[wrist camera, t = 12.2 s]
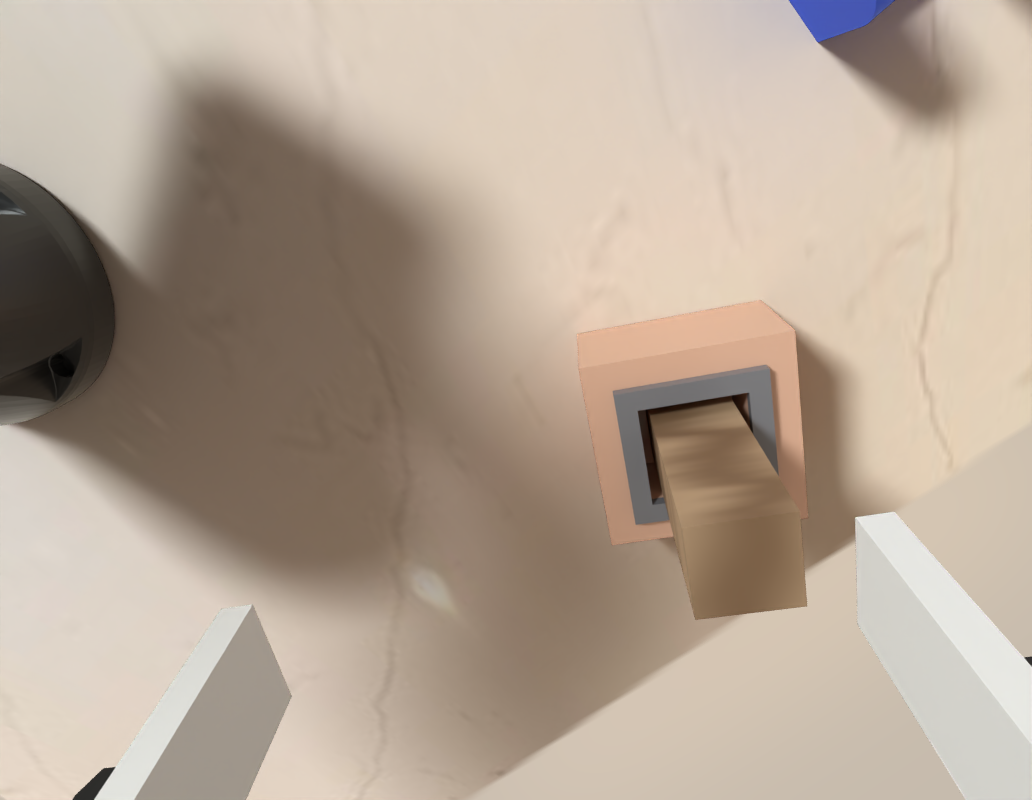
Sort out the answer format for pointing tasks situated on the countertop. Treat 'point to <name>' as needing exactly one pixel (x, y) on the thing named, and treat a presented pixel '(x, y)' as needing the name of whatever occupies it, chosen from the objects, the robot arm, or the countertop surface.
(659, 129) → the countertop surface
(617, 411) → the peach square socket block
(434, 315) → the countertop surface
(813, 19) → the bracket
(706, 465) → the tall wooden block
